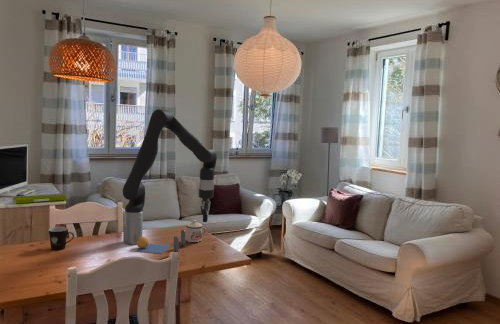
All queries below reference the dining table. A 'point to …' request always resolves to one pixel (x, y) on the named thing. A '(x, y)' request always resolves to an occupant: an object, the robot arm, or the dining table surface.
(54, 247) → the coffee mug
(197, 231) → the teacup with lid
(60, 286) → the dining table surface
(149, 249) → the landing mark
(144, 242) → the ball
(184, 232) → the post
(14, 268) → the dining table surface
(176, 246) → the post
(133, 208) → the robot arm
